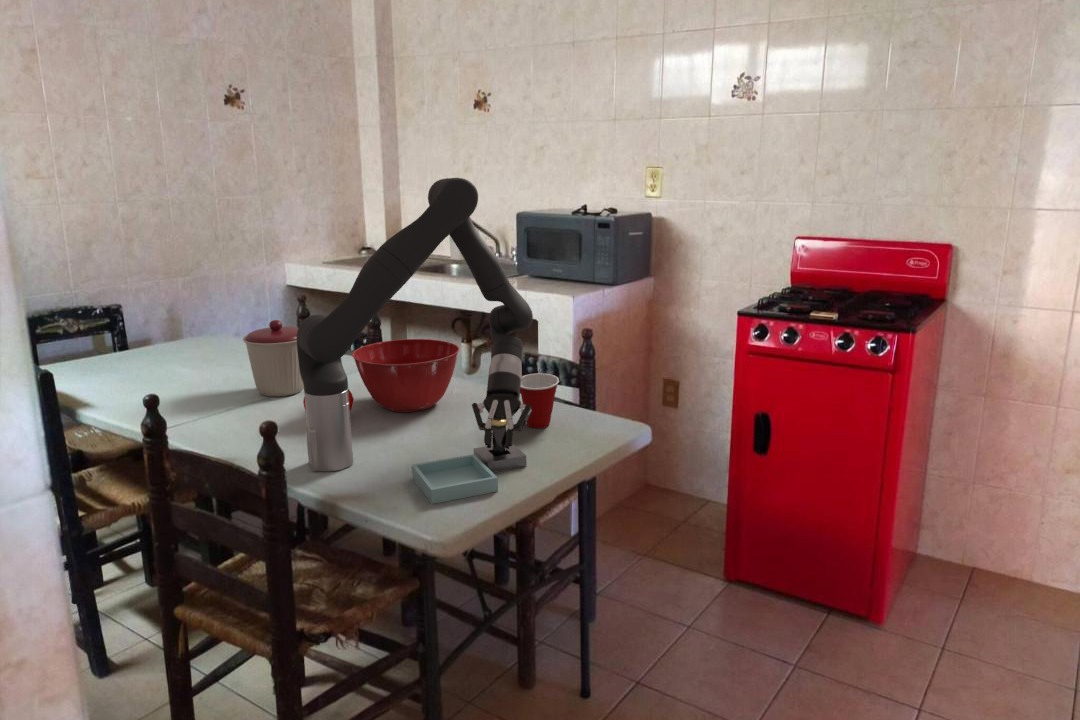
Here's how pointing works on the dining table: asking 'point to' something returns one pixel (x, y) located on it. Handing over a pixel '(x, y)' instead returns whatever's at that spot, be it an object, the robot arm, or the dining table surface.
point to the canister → (275, 359)
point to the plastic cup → (539, 397)
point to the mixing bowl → (407, 372)
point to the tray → (454, 478)
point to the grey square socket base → (501, 458)
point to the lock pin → (499, 435)
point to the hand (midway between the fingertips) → (498, 446)
